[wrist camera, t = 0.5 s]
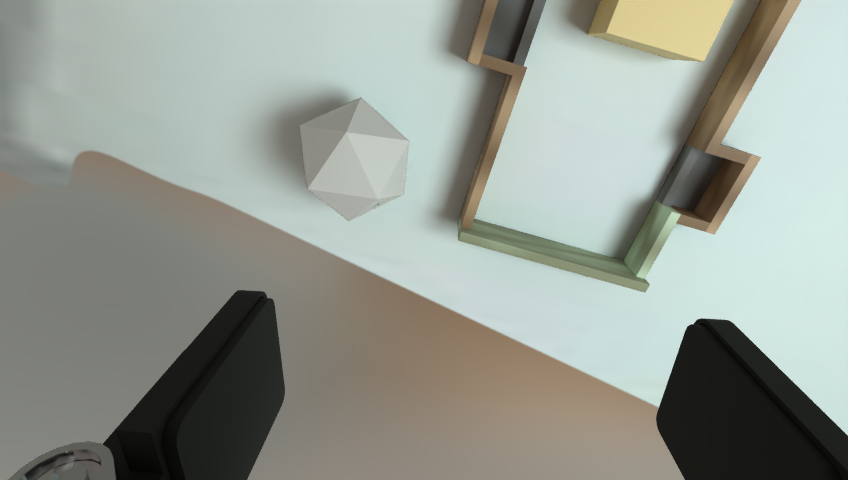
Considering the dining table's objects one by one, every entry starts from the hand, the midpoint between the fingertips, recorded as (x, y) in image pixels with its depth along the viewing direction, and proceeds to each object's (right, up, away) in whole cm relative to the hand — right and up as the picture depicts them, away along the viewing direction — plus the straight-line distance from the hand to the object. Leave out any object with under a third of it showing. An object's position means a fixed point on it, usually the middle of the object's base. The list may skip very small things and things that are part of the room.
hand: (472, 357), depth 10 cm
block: (+16, +21, +22) cm, 34 cm away
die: (-6, +11, +28) cm, 30 cm away
